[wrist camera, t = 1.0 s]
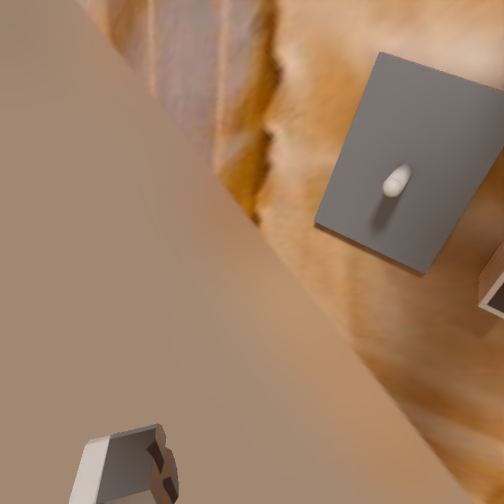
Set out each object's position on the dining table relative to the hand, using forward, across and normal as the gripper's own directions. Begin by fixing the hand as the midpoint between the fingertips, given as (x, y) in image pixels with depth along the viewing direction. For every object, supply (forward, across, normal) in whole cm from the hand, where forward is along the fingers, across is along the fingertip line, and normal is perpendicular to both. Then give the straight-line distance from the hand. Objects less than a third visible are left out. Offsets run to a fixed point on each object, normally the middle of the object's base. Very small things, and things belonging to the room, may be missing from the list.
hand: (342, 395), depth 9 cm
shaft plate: (+39, -22, +7) cm, 45 cm away
